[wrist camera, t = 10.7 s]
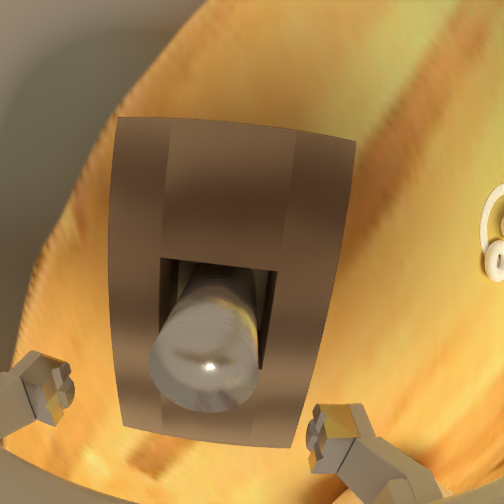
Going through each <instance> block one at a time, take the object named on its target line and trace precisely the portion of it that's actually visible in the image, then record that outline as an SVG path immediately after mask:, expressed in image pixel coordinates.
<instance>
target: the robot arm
mask: <svg viewBox="0 0 504 504" xmlns="http://www.w3.org/2000/svg"><path fill="white" fill-rule="evenodd" d="M70 373H71V369H70V365H69V364H68V363H67V362H65V361H62V360H59V359H56V358H54V357H51V356H48V355H46V354H42V353H39V352H37V351H34V350H33V351H30V352H29V353H28V354H27V355H26V356H25V357H23V358H22V359H21V360H20V361H19V362H18V363H17V364H16V365H15V366H14V367H13V368H12V369H11V370H10V371H9V372H8V373H7V372H1V373H0V439H1V438H3V437H5V436H7V435H9V434H11V433H13V432H15V431H17V430H19V429H21V428H23V427H24V426H26V425H28V424H30V423H32V422H34V421H36V419H37V420H39V421H42V422H44V423H47V424H49V425H52V426H55V427H56V425H57V424H58V422H59V421H60V420H61V418H62V417H63V415H64V414H63V409H65V408H67V407H69V406H70V405H71V403H72V401H73V398H74V394H75V387H74V383H73V381H72V380H71V378H70V377H69V375H70ZM313 417H314V419H312V420H311V421H310V422H309V424H308V427H307V432H306V446H307V449H308V450H309V451H310V452H311V453H310V456H309V458H308V459H309V465H310V471H311V474H329V473H337V474H336V475H337V476H338V477H339V478H340V479H341V480H342V481H343V482H344V483H345V484H346V485H347V486H348V487H349V488H350V490H351V491H352V492H353V493H354V494H355V495H356V496H357V497H358V498H359V499H360V500H361V501H362V502H363V503H364V504H504V476H501V477H499V478H497V479H495V480H492V481H490V482H487V483H485V484H482V485H480V486H477V487H475V488H472V489H469V490H467V491H464V492H461V493H458V494H455V495H452V496H449V497H446V498H443V495H442V493H441V491H440V489H439V487H438V485H437V483H436V480H435V478H434V476H433V474H432V472H431V471H430V470H428V469H427V468H425V467H424V466H422V465H421V464H419V463H418V462H416V461H415V460H413V459H412V458H410V457H409V456H407V455H406V454H404V453H403V452H402V451H400V450H399V449H397V448H396V447H394V446H393V445H391V444H390V443H389V442H387V441H386V440H384V439H383V438H381V437H376V435H375V433H374V430H373V428H372V425H371V423H370V421H369V418H368V416H367V413H366V411H365V409H364V406H363V405H362V404H361V403H354V404H316V405H315V407H314V410H313ZM0 504H138V503H135V502H131V501H127V500H124V499H120V498H117V497H114V496H111V495H107V494H104V493H101V492H98V491H95V490H93V489H90V488H87V487H84V486H82V485H79V484H76V483H74V482H71V481H69V480H66V479H64V478H62V477H59V476H57V475H55V474H52V473H50V472H48V471H46V470H44V469H42V468H39V467H37V466H35V465H33V464H31V463H29V462H27V461H25V460H23V459H22V458H20V457H18V456H16V455H14V454H12V453H10V452H9V451H7V450H5V449H3V447H2V445H1V444H0Z"/></svg>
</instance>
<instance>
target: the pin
mask: <svg viewBox="0 0 504 504" xmlns="http://www.w3.org/2000/svg"><path fill="white" fill-rule="evenodd" d="M148 366H149V371H150V375H151V377H152V380H153V382H154V383H155V385H156V387H157V388H158V389H159V390H160V392H161V393H162V394H163V395H164V396H166V397H167V398H168V399H169V400H171V401H172V402H174V403H175V404H177V405H179V406H181V407H184V408H186V409H189V410H193V411H197V412H205V413H215V412H222V411H227V410H230V409H232V408H235V407H237V406H239V405H240V404H242V403H243V402H244V401H246V400H247V399H248V398H249V397H250V396H251V394H252V393H253V391H254V390H255V387H256V385H257V381H258V341H257V309H256V282H255V278H254V275H253V273H252V271H251V270H250V268H244V267H236V266H227V265H219V264H211V263H203V262H201V263H200V264H199V265H198V266H197V268H196V269H195V271H194V272H193V274H192V276H191V278H190V279H189V281H188V283H187V285H186V286H185V288H184V290H183V292H182V294H181V295H180V297H179V299H178V301H177V302H176V304H175V306H174V308H173V310H172V311H171V313H170V315H169V317H168V319H167V320H166V322H165V324H164V326H163V328H162V329H161V331H160V333H159V335H158V337H157V339H156V340H155V342H154V344H153V346H152V348H151V350H150V353H149V358H148Z"/></svg>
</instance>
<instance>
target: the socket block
mask: <svg viewBox="0 0 504 504" xmlns="http://www.w3.org/2000/svg"><path fill="white" fill-rule="evenodd" d="M355 149H356V141H352V140H347V139H342V138H337V137H332V136H327V135H321V134H316V133H310V132H304V131H298V130H291V129H285V128H278V127H270V126H262V125H254V124H245V123H236V122H225V121H213V120H200V119H183V118H157V117H118V120H117V127H116V135H115V143H114V152H113V162H112V173H111V186H110V201H109V224H108V286H109V309H110V325H111V338H112V349H113V358H114V367H115V375H116V383H117V390H118V397H119V403H120V410H121V416H122V421H123V426H126V427H130V428H135V429H139V430H143V431H148V432H153V433H157V434H162V435H168V436H173V437H179V438H185V439H191V440H197V441H204V442H212V443H220V444H229V445H240V446H252V447H269V448H291V445H292V442H293V438H294V435H295V432H296V429H297V426H298V422H299V419H300V416H301V413H302V409H303V406H304V402H305V399H306V395H307V392H308V388H309V385H310V381H311V377H312V374H313V370H314V366H315V362H316V358H317V355H318V351H319V347H320V343H321V338H322V334H323V330H324V326H325V322H326V317H327V313H328V308H329V304H330V299H331V295H332V290H333V285H334V280H335V275H336V270H337V265H338V260H339V255H340V249H341V244H342V238H343V232H344V226H345V220H346V214H347V208H348V201H349V195H350V188H351V180H352V173H353V165H354V157H355ZM201 262H203V263H211V264H219V265H227V266H236V267H244V268H250V270H251V271H252V273H253V275H254V278H255V282H256V309H257V341H258V381H257V385H256V387H255V390H254V391H253V393H252V394H251V396H250V397H249V398H248V399H247V400H246V401H244V402H243V403H242V404H240V405H239V406H237V407H235V408H232V409H230V410H227V411H222V412H215V413H205V412H197V411H193V410H189V409H186V408H184V407H181V406H179V405H177V404H175V403H174V402H172V401H171V400H169V399H168V398H167V397H166V396H164V395H163V394H162V393H161V392H160V390H159V389H158V388H157V387H156V385H155V383H154V382H153V380H152V377H151V375H150V371H149V366H148V358H149V353H150V350H151V348H152V346H153V344H154V342H155V340H156V339H157V337H158V335H159V333H160V331H161V329H162V328H163V326H164V324H165V322H166V320H167V319H168V317H169V315H170V313H171V311H172V310H173V308H174V306H175V304H176V302H177V301H178V299H179V297H180V295H181V294H182V292H183V290H184V288H185V286H186V285H187V283H188V281H189V279H190V278H191V276H192V274H193V272H194V271H195V269H196V268H197V266H198V265H199V264H200V263H201Z"/></svg>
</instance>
